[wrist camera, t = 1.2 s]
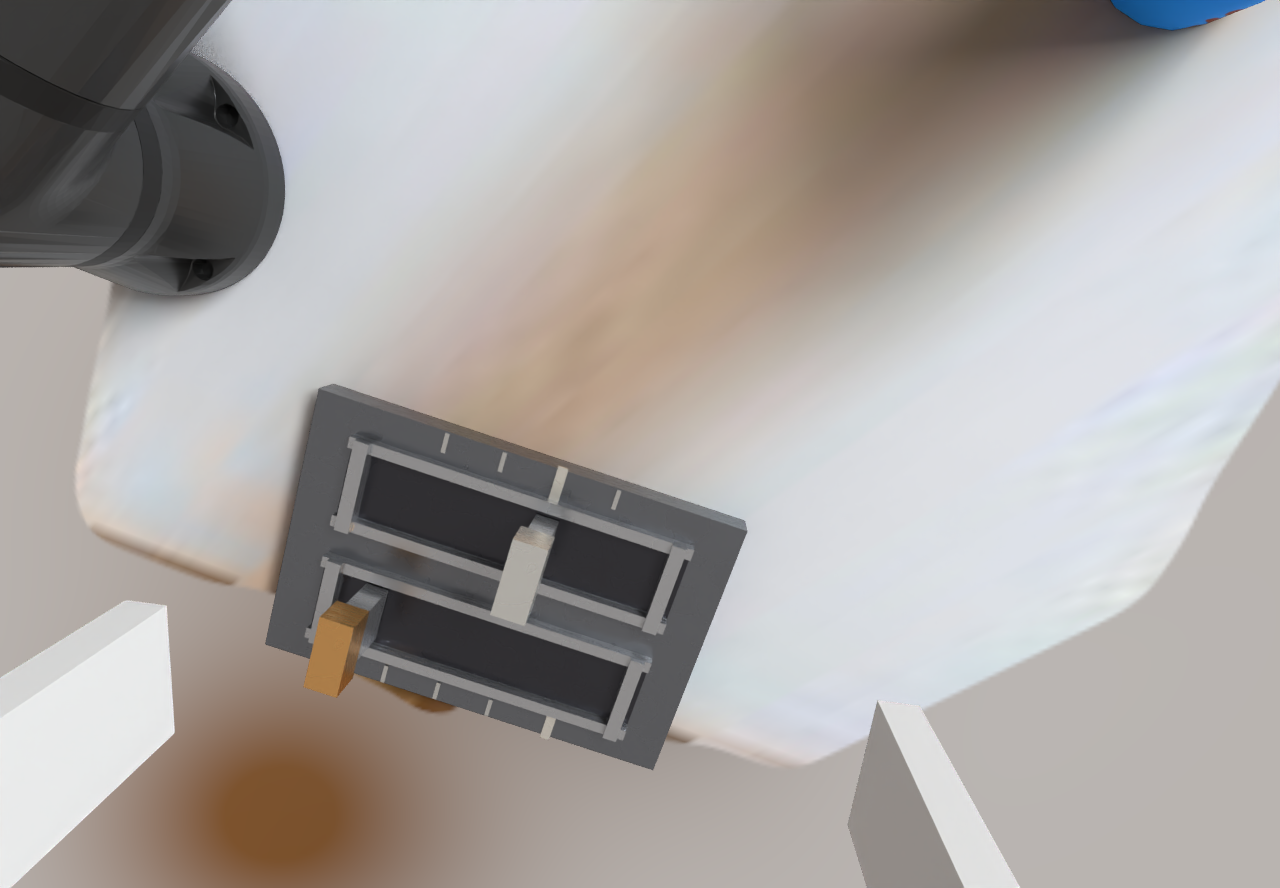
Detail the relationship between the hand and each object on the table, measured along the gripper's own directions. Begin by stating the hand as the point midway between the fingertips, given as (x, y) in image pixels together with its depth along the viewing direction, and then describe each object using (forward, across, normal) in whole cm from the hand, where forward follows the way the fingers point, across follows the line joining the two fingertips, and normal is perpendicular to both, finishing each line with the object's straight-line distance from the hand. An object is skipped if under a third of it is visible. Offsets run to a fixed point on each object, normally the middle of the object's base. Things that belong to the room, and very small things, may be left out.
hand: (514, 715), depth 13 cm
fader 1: (+33, -16, -18) cm, 41 cm away
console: (+35, -8, -15) cm, 39 cm away
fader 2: (+33, -5, -11) cm, 35 cm away
